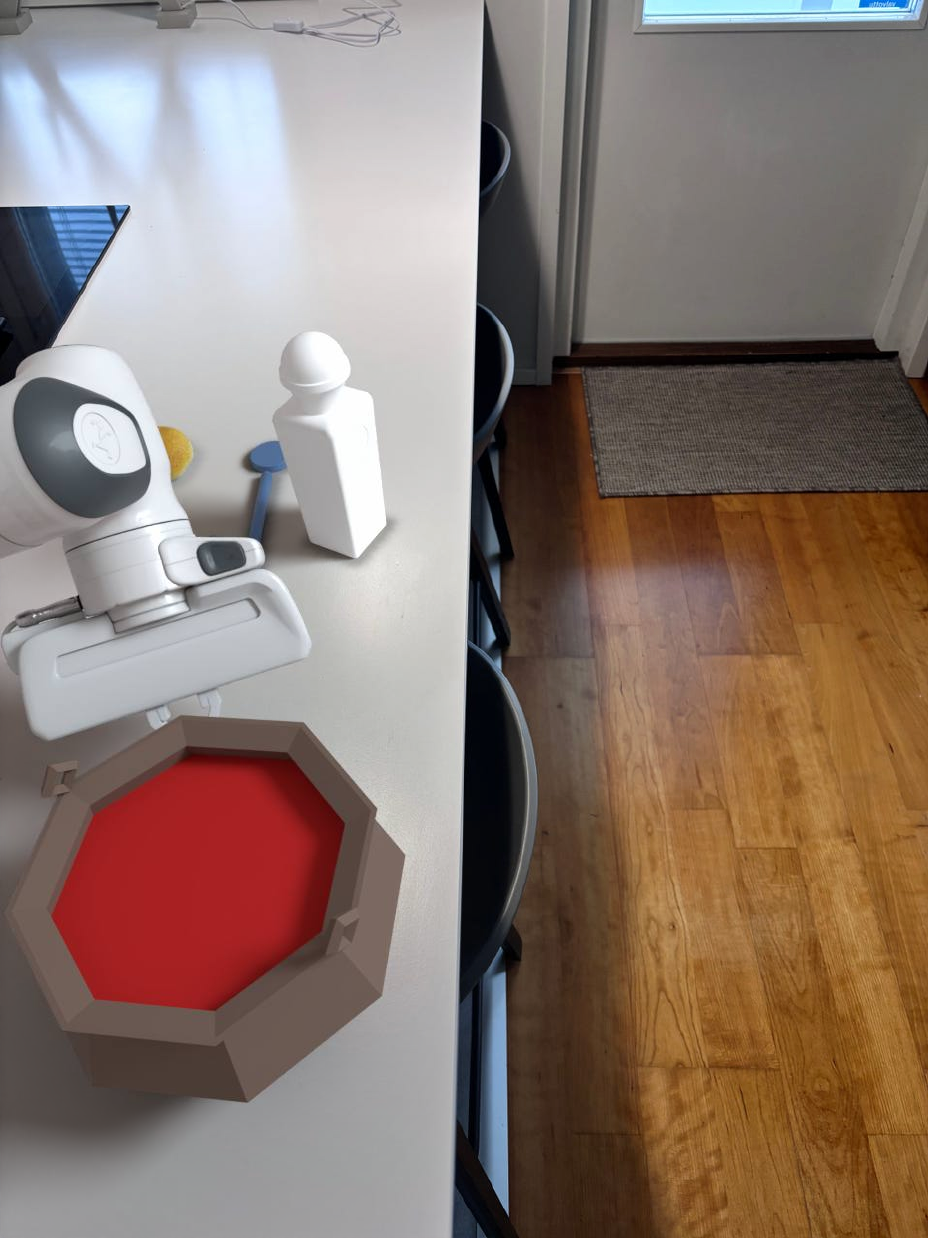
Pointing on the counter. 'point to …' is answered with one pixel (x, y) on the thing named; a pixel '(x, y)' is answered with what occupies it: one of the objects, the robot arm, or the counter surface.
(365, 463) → the white square bottle
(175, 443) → the bread roll
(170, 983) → the octagonal pot
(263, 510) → the spoon
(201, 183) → the counter surface
